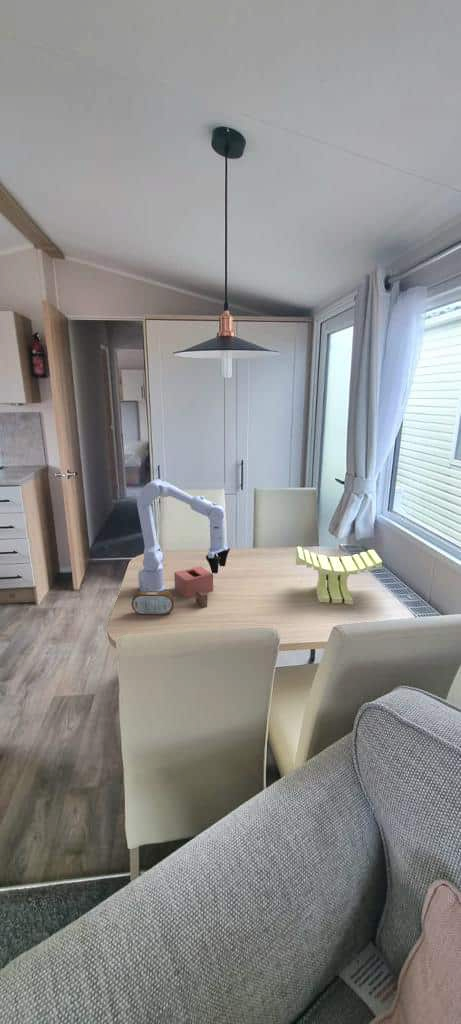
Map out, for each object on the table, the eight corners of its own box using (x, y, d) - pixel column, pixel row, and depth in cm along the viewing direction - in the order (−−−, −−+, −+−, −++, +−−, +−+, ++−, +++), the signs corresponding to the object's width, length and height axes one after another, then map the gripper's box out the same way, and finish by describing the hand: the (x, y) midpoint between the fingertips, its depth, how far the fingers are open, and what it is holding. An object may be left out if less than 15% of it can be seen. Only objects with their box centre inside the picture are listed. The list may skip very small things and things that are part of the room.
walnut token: (202, 608, 159) (202, 595, 158) (195, 602, 163) (195, 590, 162) (207, 606, 160) (207, 594, 159) (200, 601, 164) (200, 589, 163)
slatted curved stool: (367, 588, 179) (371, 547, 174) (377, 605, 163) (382, 561, 159) (294, 584, 181) (296, 543, 176) (297, 601, 165) (299, 557, 161)
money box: (186, 597, 167) (186, 580, 165) (174, 588, 175) (174, 572, 173) (213, 590, 173) (213, 574, 172) (200, 582, 181) (200, 566, 180)
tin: (174, 611, 156) (174, 590, 154) (174, 615, 153) (173, 593, 151) (132, 611, 155) (131, 589, 153) (131, 615, 152) (130, 593, 150)
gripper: (219, 543, 158) (220, 577, 162) (234, 531, 171) (234, 564, 175) (202, 541, 161) (203, 575, 164) (217, 530, 174) (218, 562, 177)
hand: (218, 569), depth 170 cm, fingers open, 7 cm apart
